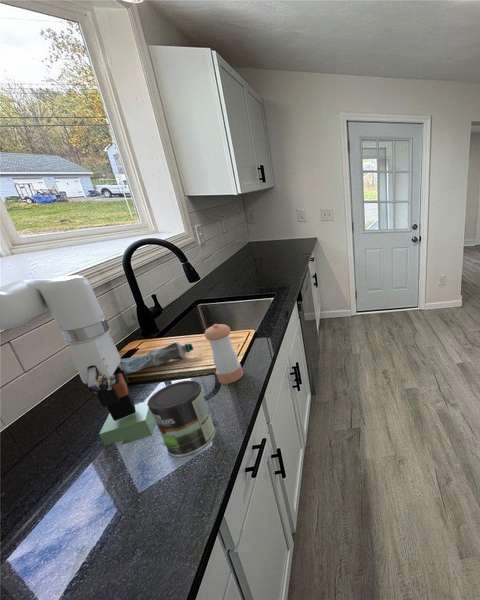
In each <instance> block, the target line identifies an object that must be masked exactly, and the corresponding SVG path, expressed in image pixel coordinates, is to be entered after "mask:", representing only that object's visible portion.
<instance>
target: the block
mask: <svg viewBox="0 0 480 600" xmlns="http://www.w3.org/2000/svg"><path fill="white" fill-rule="evenodd" d="M148 401H149V400H145V401H143V402H138V403H136V404H135V403H134V404H135V409H136V412H135V413H134V414H131V415H129V416H126V417H124V418H121V419H119V420H116V421H114V420H113V418H112V416H111V414H110V412H109V413H108V415H107V418H105V422H104V424H103V426H102V427H101V429H100V431H99V433H98V435H99V437H100V439H101V441H102V443H103V444H104V446H105V447H106V446H108V445H112V444H115V443H118V442H121V446H124V445H127V444H129V443H133V442H135V441H138V440H142V439H145V438H148V437H151V436H153V434H154V430H153V429H155V426H156V423H155V419H154V417H153V415H152V412H151V410H150V409H149V407H148V405H147V404H148ZM154 425H155V426H154ZM144 437H145V438H144Z"/></svg>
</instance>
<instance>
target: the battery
mask: <svg viewBox="0 0 480 600" xmlns="http://www.w3.org/2000/svg"><path fill="white" fill-rule="evenodd" d="M110 381H111V386H112V388H113V387H114V388H115V390H116V392H117V395H118V397H119V399H120V401H119V403H115V404H112V405H108V406H106V408H107V411H108V412H109V413H110V414H111V416H112V418H113V420H114V421H116V420H119V419H121V418H124V417H126V416H129V415H131V414H134V413H135V412H136V409H135V399H134V398H133V395H132V393H131V390H130V388H129V387H128V384H126V382H125V380H124V377H123V375H122V373H118V374H115V375H112V376H111V377H110ZM99 383H100V384H104V385H106V383H105V380H104V381H100V382H99Z"/></svg>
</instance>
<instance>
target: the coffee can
mask: <svg viewBox="0 0 480 600" xmlns="http://www.w3.org/2000/svg"><path fill="white" fill-rule="evenodd" d="M147 401H148V404H147V405H148V407H149V409H150V410H151V412H152V415H153V417H154V419H155V422H156V423H155V425H156V426H157V429H158V430H159V433H160V436H161V438H162V441H163V443H164V445H165V448H166V450H167V453H168V454H169V455H170V456H171V457H175V458H183V457H187V456H190V455H194V454H196V453H198V452H199V451H201V450H203V449H204V448H206V447H207V446H208V445H209V444H210V443H211V442H212V441H213V439H214V438H215V436H216V432H217V431H216V428H215V426H214V423H213V420H212V417H211V414H210V411H209V409H208V405H207V403H206V400H205V397H204V394H203V390H202V386H201V383H200V382H199V381H196V380H182V381H178V382H175V383H172V384H170V385H167V386H164V387H163V388H161V389H159V390H158V391H156V392H155V393H154V394H152V395H151V396H150V397H149V399H148V400H147Z"/></svg>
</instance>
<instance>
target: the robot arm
mask: <svg viewBox="0 0 480 600" xmlns="http://www.w3.org/2000/svg"><path fill="white" fill-rule="evenodd" d="M49 311H50V313H51V315H52V317H53V319H54V321H55V323H56V326H57V327H58V330H59V331H60V333H61V335H62V337H63V339H64V341H65V343H66V345H69V350H70V355H71V357H72V360H73V363H74V365H75V368H76V371H77V372H78V375H79V377H80V380H81V382H82V383H83V384H85V385H87V386H88V388H89V389H91V391H92V392H93V393H94V394H95V395H96V397H97V399H98V401H99V403H100V405H101V406H102V407H107V406H108V405H112V404H115V403H119V401H120V399H119V397H118V395H117V392H116V390H115V388H114V387H113V388H112V386H111V381H110V377H111V376H112V375H115V374H118V373H122V375H123V377H124V380H125V382H126V384H127V385H128V384H129V382H130V381H129V379H128V377H127V375H126V374H125V372H124V370H123V367H122V365H121V364H120V359H121V355H120V353H119V351H118V349H117V346H116V344H115V342H114V340H113V338H112V336H111V335H110V333H111V331H112V330H111V328H110V325H109V323H108V320H107V318H106V317H105V314H104V311H103V309H102V307H101V305H100V303H99V300H98V299H97V296H96V294H95V291H94V289H93V287H92V284H91V283H90V281H89V279H88V278H87V277H85V276H83V275H68V276H67V275H66V276H62V277H56V278H51V279H50V278H49V279H48V278H47V279H43V278H42V279H39V278H38V279H22V280H17V281H14V282H11V283H9V284H6V285H4V286H1V287H0V331H5V330H12V329H16V328H18V327H21V326H23V325H25V324H26V323H28V322H30V321H32V320H33V319H34V318H36V317H38V316H40V315H42V314H45V313H47V312H49ZM104 375H105V376H104ZM103 376H104V377H103ZM99 377H100V378H99ZM104 380H105V383H106V385H104V384H100V383H99V382H100V381H104Z"/></svg>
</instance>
